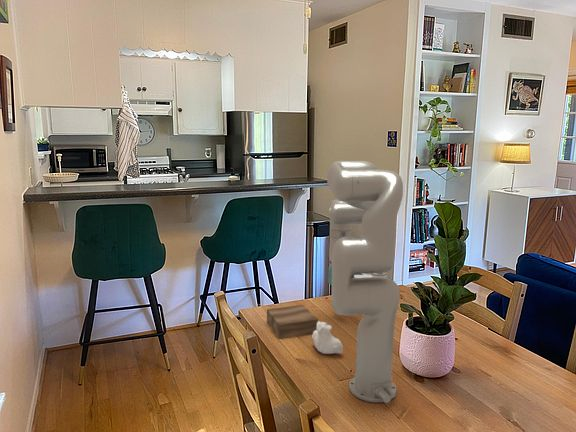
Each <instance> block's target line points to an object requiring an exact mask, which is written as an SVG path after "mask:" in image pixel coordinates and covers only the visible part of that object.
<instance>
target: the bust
mask: <svg viewBox="0 0 576 432" xmlns="http://www.w3.org/2000/svg"><path fill="white" fill-rule="evenodd" d="M316 329H317V330H315V331H314V332H313V334H311V337H312V340H313V343H314V347H315V348H316V349H317V351H318V352H319V353H322V354H323V355H332V354H337V355H338V354H339V355H340V354H342V353H343V350H344V346H343V344H342V342H341V340H340V339H339V338H337V337H335V336H333V333H331V330H333V325H331V324H328V323H327V322H325V321H320V320H318V322H317V327H316Z"/></svg>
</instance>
